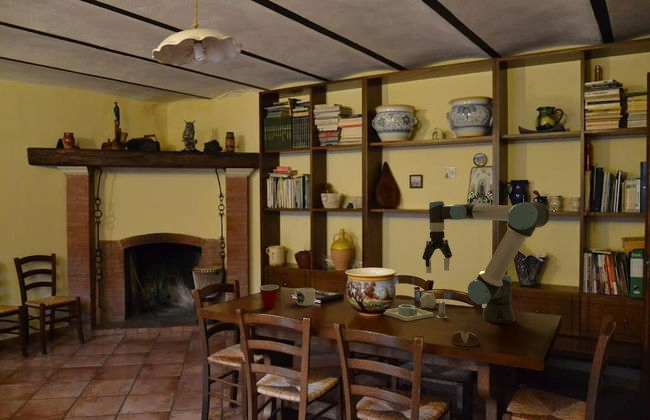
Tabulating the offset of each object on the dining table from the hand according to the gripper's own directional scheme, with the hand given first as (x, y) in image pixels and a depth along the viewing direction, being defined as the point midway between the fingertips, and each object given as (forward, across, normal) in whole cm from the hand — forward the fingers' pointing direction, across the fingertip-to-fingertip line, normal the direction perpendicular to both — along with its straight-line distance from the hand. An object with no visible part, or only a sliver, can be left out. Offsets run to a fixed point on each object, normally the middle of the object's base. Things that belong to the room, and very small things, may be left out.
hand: (437, 271), depth 267 cm
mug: (+20, +43, -62) cm, 78 cm away
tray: (+22, +14, -8) cm, 27 cm away
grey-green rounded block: (+21, +14, -8) cm, 27 cm away
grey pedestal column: (+22, +3, +5) cm, 23 cm away
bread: (+24, +29, +40) cm, 55 cm away
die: (+22, -7, -14) cm, 27 cm away
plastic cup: (+20, +65, -64) cm, 93 cm away
